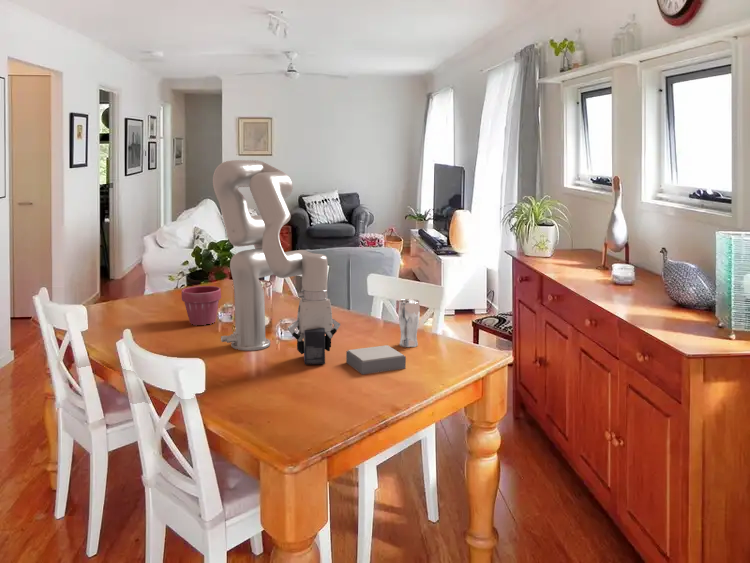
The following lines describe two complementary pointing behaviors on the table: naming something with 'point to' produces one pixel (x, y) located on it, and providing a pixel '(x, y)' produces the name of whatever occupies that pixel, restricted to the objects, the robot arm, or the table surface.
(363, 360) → the block
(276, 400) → the table surface
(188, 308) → the plant pot
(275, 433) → the table surface
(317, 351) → the small box
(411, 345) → the beer glass
